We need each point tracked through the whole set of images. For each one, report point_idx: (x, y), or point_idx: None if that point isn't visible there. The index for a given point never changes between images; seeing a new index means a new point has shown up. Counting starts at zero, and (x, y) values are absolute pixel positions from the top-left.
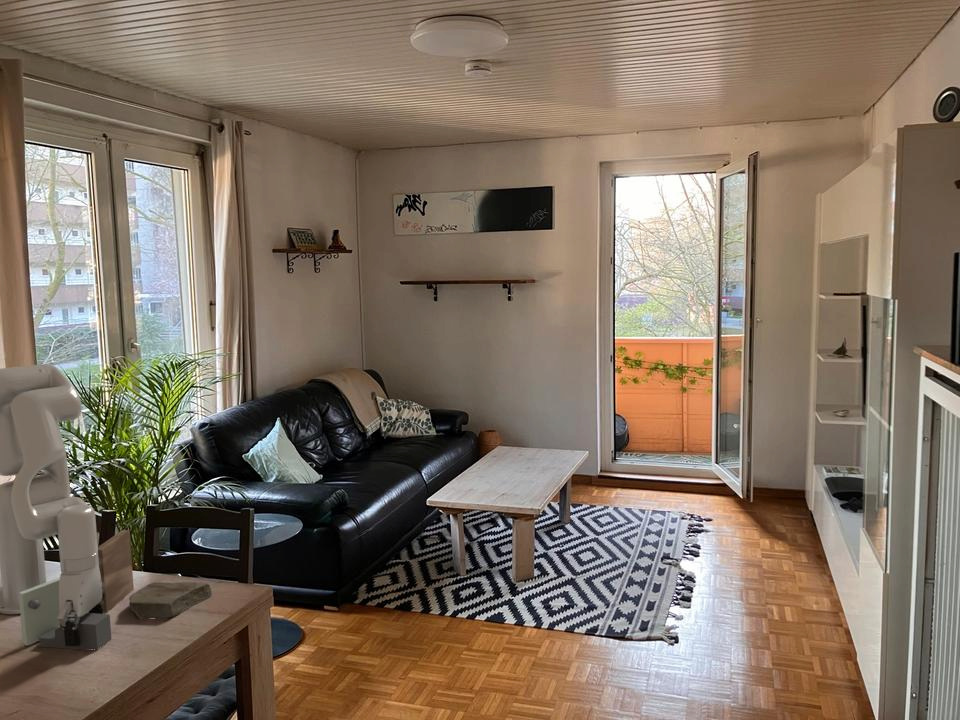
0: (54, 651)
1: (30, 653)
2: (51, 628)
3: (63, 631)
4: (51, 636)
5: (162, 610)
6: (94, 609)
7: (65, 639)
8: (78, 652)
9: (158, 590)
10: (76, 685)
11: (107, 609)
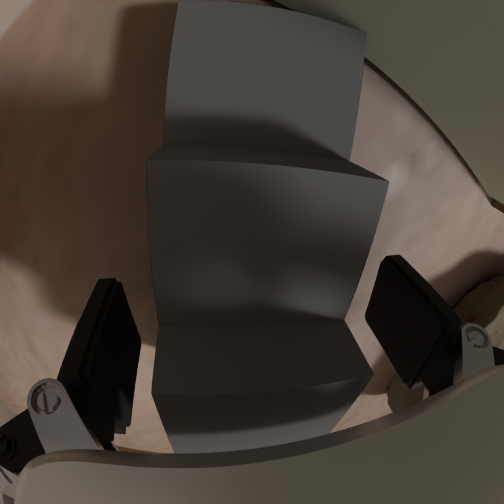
0: (126, 159)
1: (95, 33)
2: (347, 17)
3: (153, 257)
4: (207, 79)
5: (404, 398)
6: (424, 359)
7: (89, 307)
8: (145, 295)
9: (501, 336)
10: (14, 372)
11: (502, 211)
